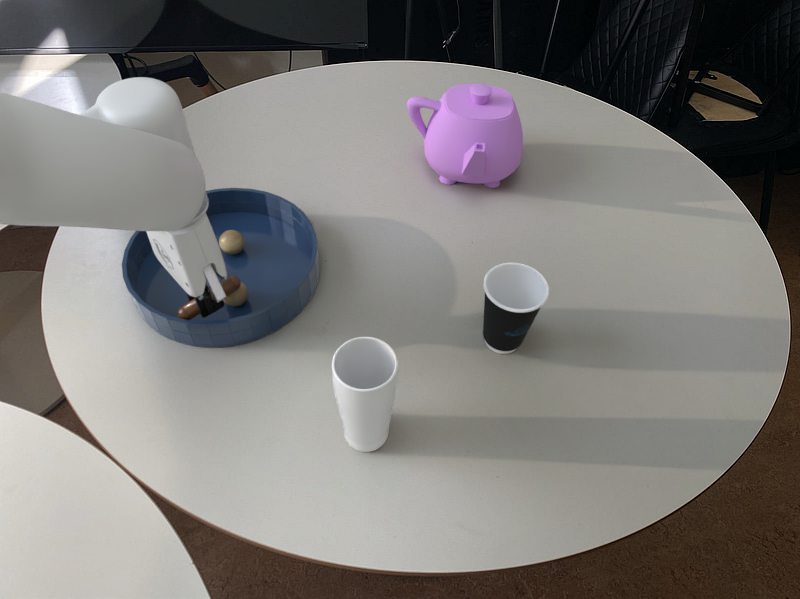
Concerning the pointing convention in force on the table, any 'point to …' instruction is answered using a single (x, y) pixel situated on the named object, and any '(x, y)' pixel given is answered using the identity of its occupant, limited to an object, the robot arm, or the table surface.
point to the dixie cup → (511, 304)
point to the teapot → (471, 134)
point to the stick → (191, 307)
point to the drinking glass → (365, 390)
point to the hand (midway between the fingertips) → (207, 304)
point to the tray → (234, 272)
